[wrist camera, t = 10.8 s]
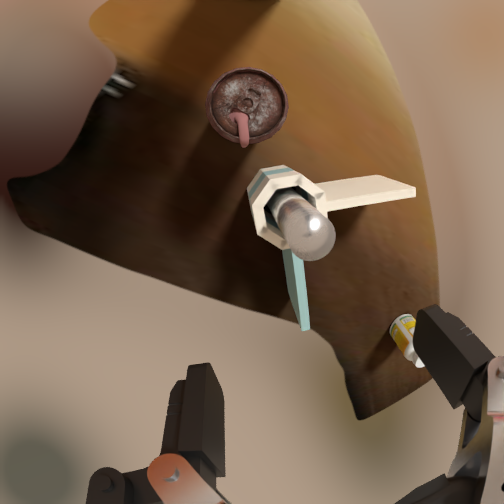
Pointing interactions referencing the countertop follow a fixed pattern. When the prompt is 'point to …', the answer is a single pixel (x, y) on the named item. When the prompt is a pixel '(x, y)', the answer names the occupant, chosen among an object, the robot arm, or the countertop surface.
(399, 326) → the supplement bottle
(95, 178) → the countertop surface
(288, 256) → the leaf
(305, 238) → the hinge pin
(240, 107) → the can
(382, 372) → the countertop surface
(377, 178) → the white hinge leaf
